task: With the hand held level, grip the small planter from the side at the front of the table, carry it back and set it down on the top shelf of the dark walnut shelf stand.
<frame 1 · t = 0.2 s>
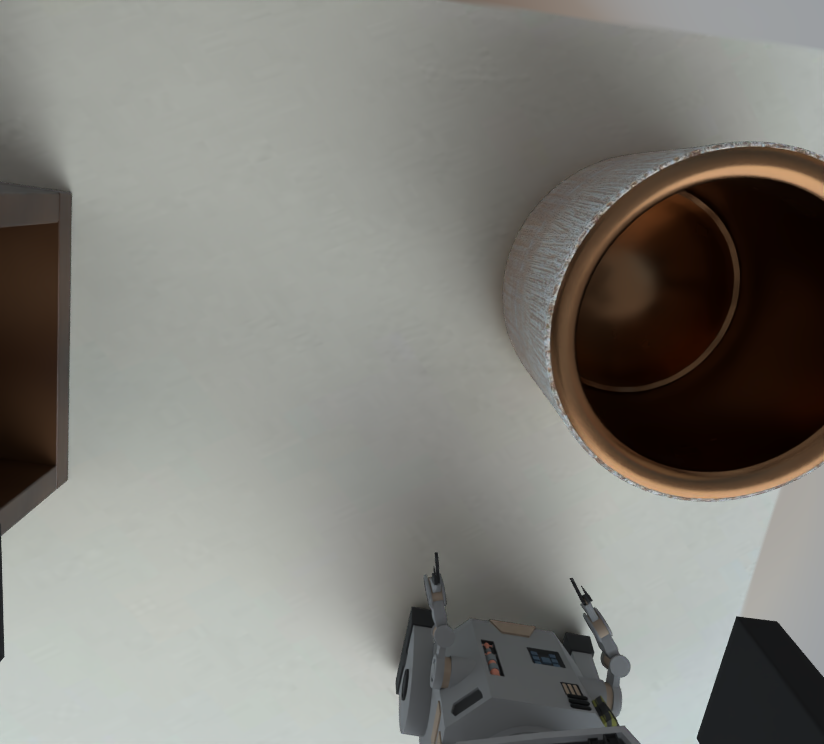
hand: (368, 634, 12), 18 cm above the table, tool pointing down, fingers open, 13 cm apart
figurine: (497, 614, 33), on the table
planter: (625, 287, 29), on the table
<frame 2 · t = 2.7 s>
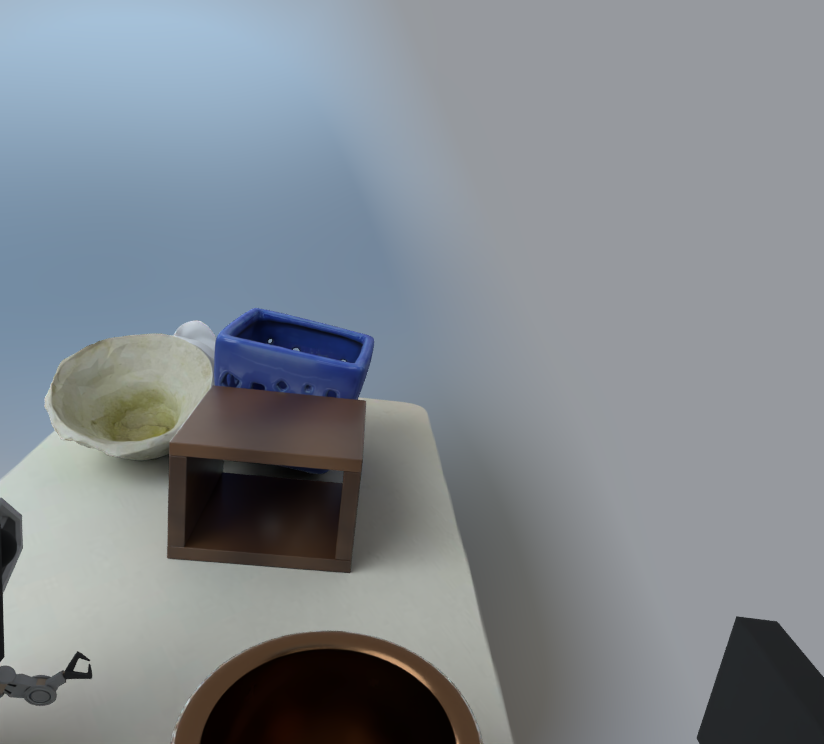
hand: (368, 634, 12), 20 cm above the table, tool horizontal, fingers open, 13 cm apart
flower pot: (280, 449, 66), on the table, touching bowl
elephant figurine: (177, 407, 74), on the table, touching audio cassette
shelf: (272, 522, 54), on the table
bowl: (136, 456, 62), on the table, touching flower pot
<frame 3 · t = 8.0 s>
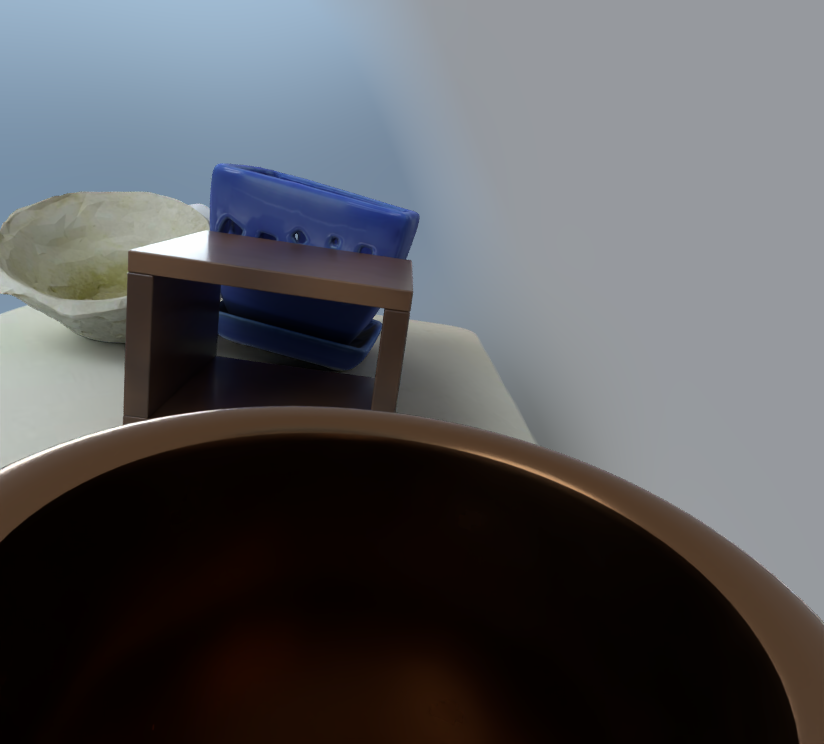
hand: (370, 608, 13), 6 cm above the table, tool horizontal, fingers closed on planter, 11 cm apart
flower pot: (295, 346, 51), on the table, touching bowl
shelf: (278, 411, 39), on the table
bowl: (108, 340, 48), on the table, touching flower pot
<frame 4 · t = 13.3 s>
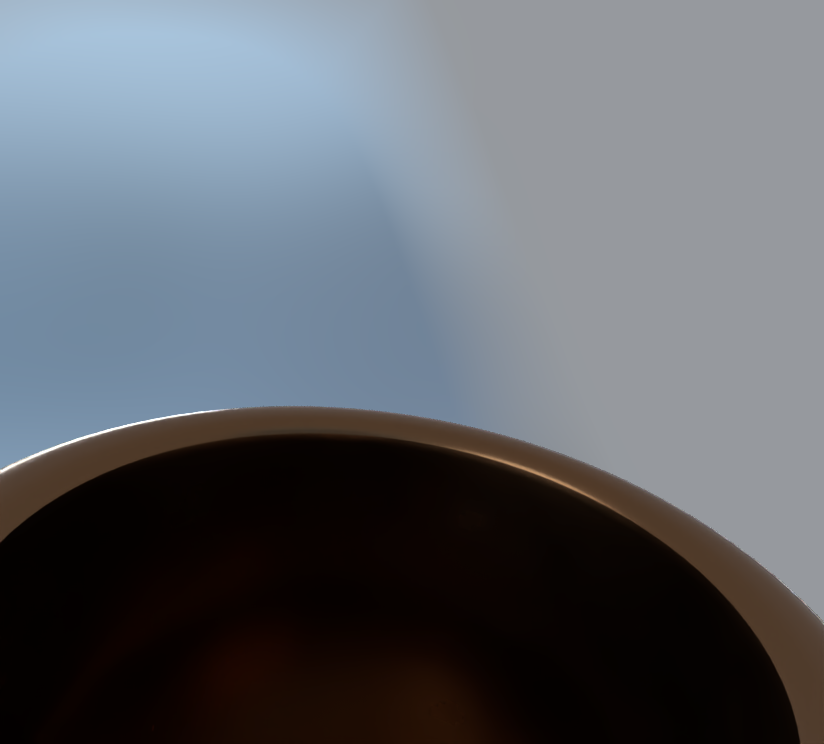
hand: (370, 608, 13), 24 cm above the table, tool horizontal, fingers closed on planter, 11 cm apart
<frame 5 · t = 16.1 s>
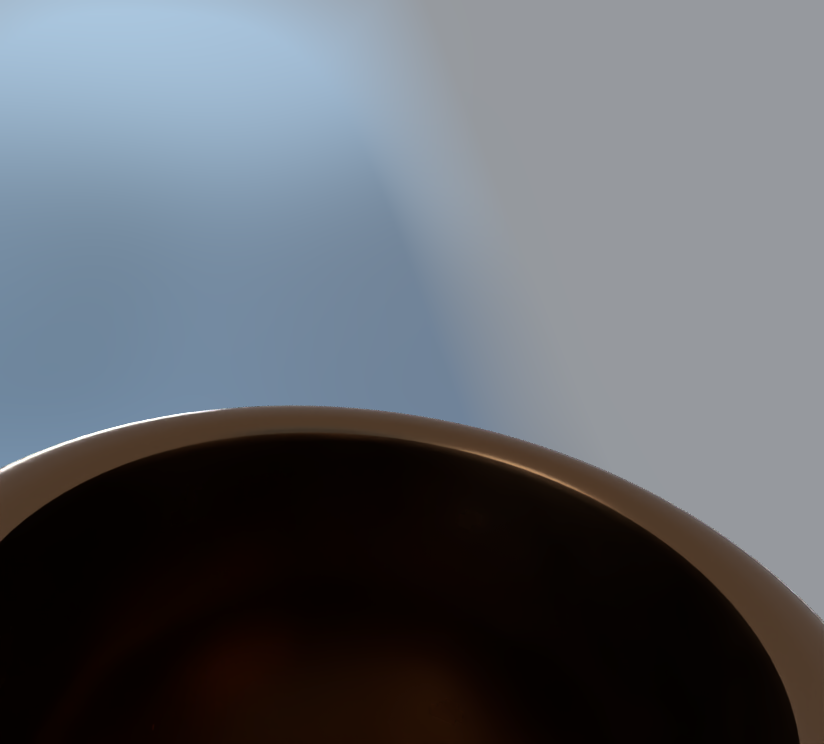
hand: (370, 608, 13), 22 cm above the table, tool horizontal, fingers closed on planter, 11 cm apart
when the fingers open (15 cm above the table, at t = 18.6 s): planter stays where it is, resting on shelf.
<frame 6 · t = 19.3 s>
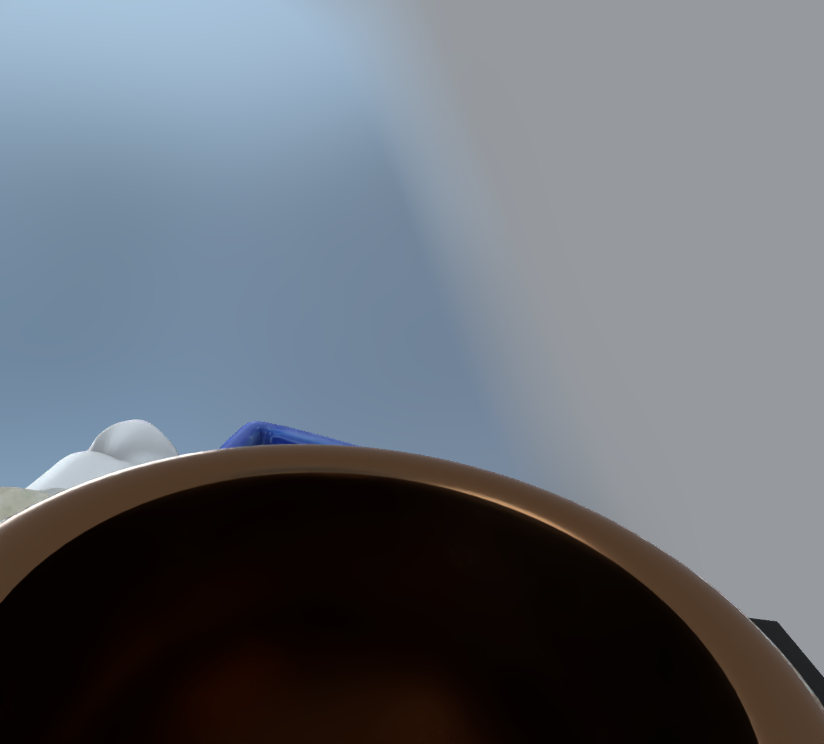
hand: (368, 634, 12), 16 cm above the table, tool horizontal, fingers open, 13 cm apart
elephant figurine: (86, 605, 35), on the table, touching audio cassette
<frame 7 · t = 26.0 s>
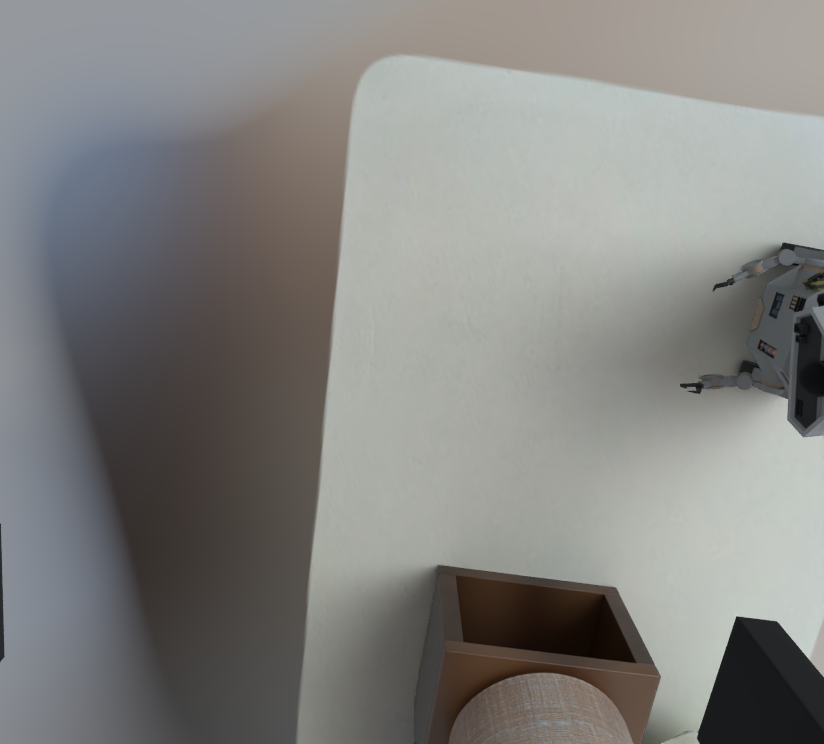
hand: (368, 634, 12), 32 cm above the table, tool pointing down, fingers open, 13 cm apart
figurine: (754, 312, 43), on the table
shelf: (512, 646, 50), on the table
planter: (535, 736, 41), point 9 cm above the table, touching shelf
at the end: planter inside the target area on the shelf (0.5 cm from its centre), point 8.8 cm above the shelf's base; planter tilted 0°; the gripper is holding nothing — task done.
